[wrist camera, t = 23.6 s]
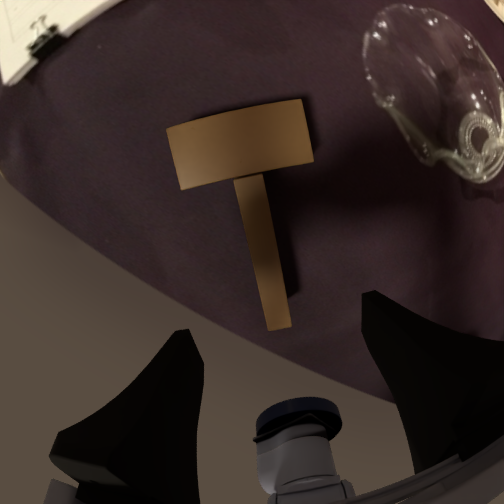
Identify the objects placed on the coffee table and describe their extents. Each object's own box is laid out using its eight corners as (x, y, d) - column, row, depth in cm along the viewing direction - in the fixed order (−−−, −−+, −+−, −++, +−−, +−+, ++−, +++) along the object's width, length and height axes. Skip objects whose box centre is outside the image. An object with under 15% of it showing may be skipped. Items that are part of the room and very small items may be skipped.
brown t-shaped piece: (227, 312, 22) (224, 339, 18) (177, 130, 17) (163, 127, 14) (323, 292, 21) (335, 316, 18) (292, 105, 16) (302, 96, 13)
